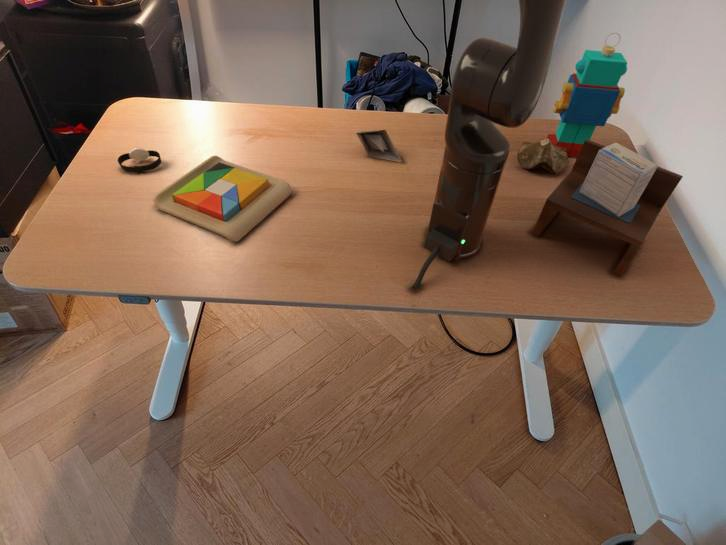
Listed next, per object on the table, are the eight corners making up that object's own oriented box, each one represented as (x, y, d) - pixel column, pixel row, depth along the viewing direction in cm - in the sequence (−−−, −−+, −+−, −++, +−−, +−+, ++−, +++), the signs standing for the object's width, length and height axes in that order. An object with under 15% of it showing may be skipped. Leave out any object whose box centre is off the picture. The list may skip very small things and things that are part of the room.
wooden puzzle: (218, 161, 96) (215, 146, 94) (294, 192, 90) (293, 177, 88) (152, 207, 86) (146, 191, 83) (234, 246, 80) (230, 231, 77)
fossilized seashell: (573, 153, 100) (525, 145, 104) (574, 135, 94) (524, 128, 98) (561, 184, 99) (514, 175, 103) (562, 169, 93) (512, 159, 97)
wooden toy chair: (620, 276, 79) (662, 212, 69) (532, 233, 86) (559, 168, 75) (641, 239, 86) (683, 175, 76) (558, 202, 92) (586, 138, 82)
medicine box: (633, 209, 79) (660, 165, 72) (617, 218, 77) (643, 174, 71) (594, 184, 83) (615, 140, 77) (578, 192, 81) (599, 148, 75)
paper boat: (403, 139, 103) (416, 152, 95) (387, 164, 105) (399, 179, 98) (358, 111, 98) (368, 122, 90) (342, 138, 100) (350, 151, 92)
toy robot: (589, 145, 107) (642, 28, 89) (595, 160, 103) (652, 41, 85) (537, 140, 107) (580, 23, 89) (542, 155, 103) (587, 36, 85)
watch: (162, 157, 96) (157, 141, 94) (163, 170, 93) (158, 154, 91) (121, 163, 94) (115, 147, 92) (121, 176, 91) (114, 160, 89)
